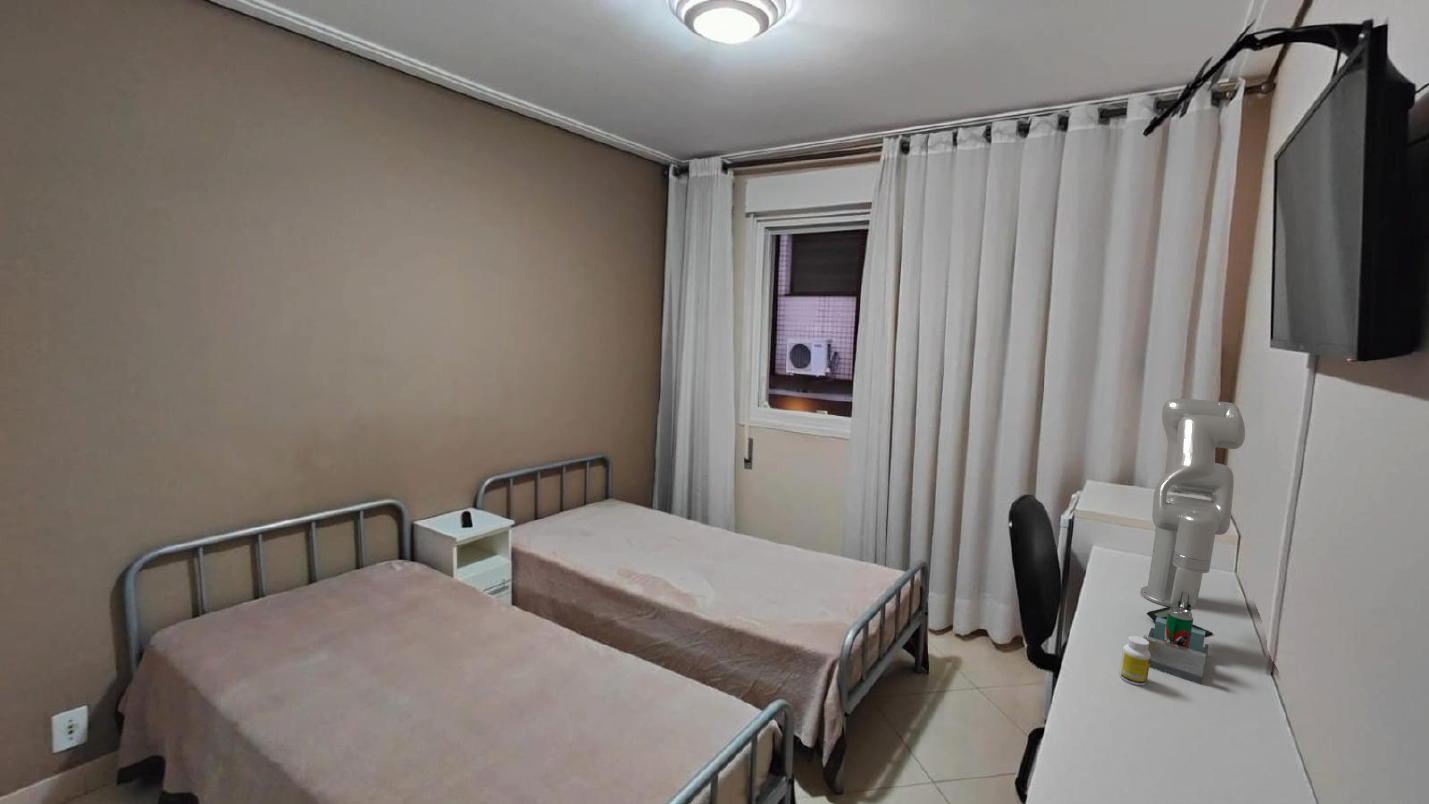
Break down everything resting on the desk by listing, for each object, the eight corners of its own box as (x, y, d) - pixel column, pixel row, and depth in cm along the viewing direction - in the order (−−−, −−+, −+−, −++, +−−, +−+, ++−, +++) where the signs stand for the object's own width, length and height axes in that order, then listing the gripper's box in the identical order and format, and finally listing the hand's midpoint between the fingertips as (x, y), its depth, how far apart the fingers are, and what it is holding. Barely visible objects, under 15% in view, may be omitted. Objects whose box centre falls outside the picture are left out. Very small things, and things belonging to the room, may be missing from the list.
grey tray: (1150, 636, 167) (1153, 613, 166) (1207, 654, 160) (1211, 629, 159) (1139, 663, 154) (1142, 638, 153) (1200, 684, 146) (1205, 658, 145)
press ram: (1154, 635, 165) (1157, 617, 164) (1202, 649, 158) (1205, 631, 158) (1152, 639, 163) (1155, 621, 162) (1201, 654, 156) (1204, 635, 155)
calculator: (1190, 641, 166) (1192, 631, 166) (1145, 621, 177) (1146, 611, 176) (1212, 635, 170) (1213, 625, 169) (1166, 615, 180) (1168, 605, 180)
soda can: (1191, 661, 153) (1198, 614, 151) (1178, 665, 151) (1185, 618, 149) (1169, 650, 158) (1176, 605, 156) (1156, 654, 156) (1163, 608, 154)
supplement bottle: (1150, 688, 144) (1156, 648, 142) (1123, 683, 145) (1128, 643, 144) (1142, 675, 149) (1148, 636, 147) (1115, 670, 151) (1121, 632, 149)
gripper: (1176, 550, 170) (1166, 614, 172) (1169, 565, 158) (1159, 634, 161) (1212, 558, 165) (1201, 624, 167) (1207, 574, 153) (1196, 645, 156)
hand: (1181, 629), depth 164 cm, fingers closed
